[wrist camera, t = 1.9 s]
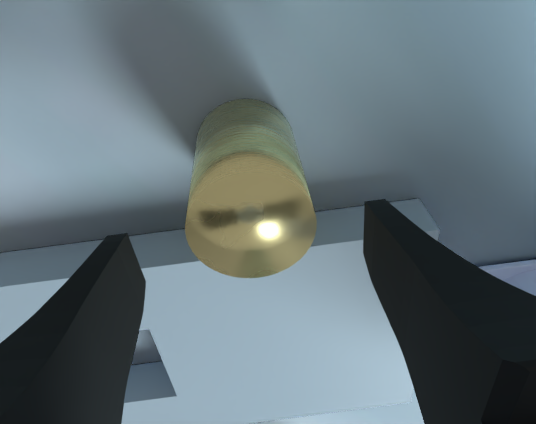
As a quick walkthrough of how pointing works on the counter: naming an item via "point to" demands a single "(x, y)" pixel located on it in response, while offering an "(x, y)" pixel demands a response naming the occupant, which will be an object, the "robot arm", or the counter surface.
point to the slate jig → (243, 327)
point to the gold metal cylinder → (248, 193)
